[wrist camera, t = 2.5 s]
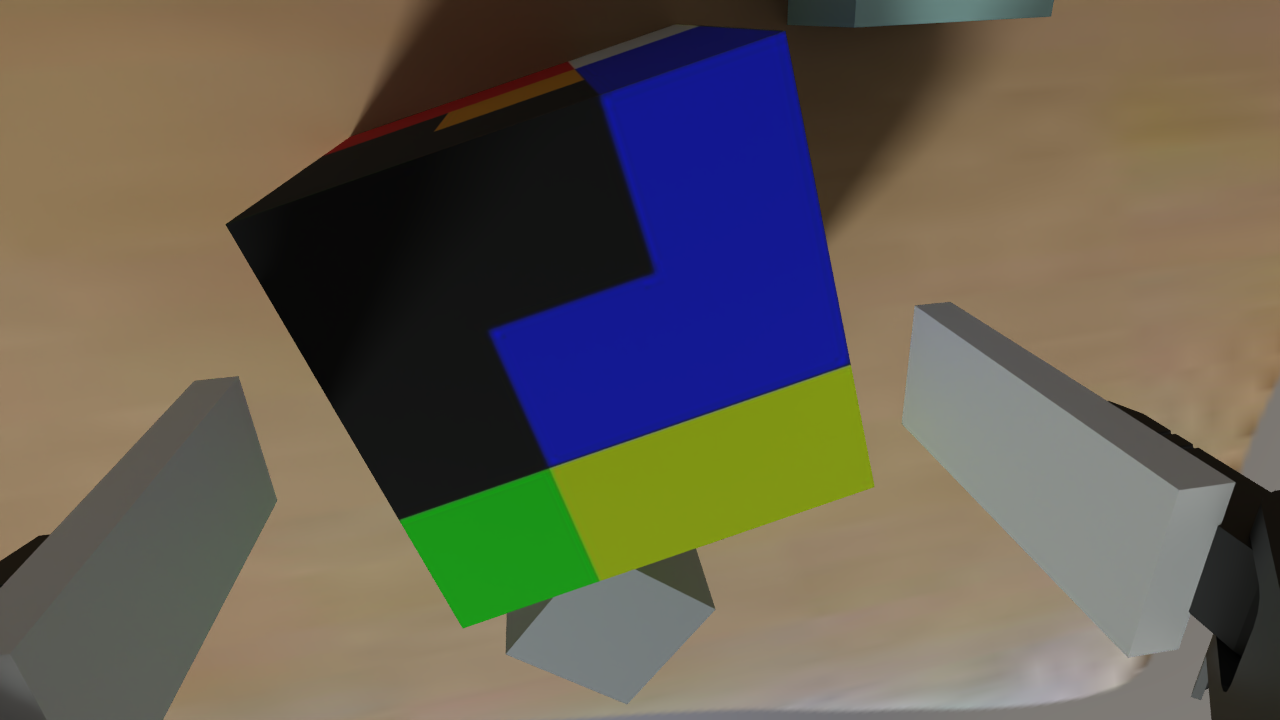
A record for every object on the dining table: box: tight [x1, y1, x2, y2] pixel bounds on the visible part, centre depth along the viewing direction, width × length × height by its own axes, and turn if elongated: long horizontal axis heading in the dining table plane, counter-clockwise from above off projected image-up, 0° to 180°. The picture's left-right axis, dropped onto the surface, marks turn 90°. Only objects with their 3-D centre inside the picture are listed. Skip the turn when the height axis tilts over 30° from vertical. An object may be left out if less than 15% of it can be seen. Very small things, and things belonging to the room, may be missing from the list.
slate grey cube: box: [506, 548, 715, 704], centre depth 26 cm, size 5×5×5 cm
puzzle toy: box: [226, 24, 874, 628], centre depth 19 cm, size 10×10×10 cm
